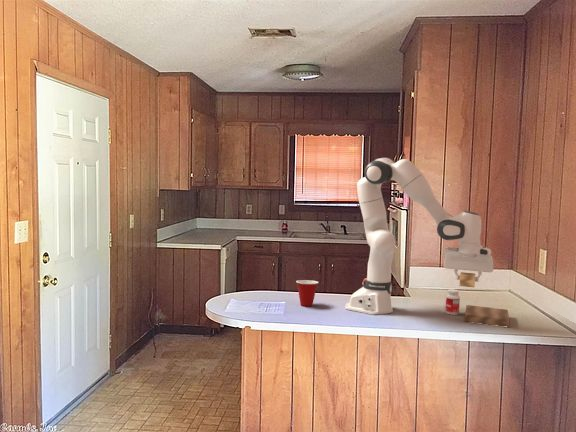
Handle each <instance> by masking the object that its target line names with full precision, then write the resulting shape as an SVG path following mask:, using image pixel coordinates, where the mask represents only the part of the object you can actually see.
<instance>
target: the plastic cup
mask: <svg viewBox="0 0 576 432" xmlns="http://www.w3.org/2000/svg"><path fill="white" fill-rule="evenodd" d="M295 282H296V284H297V290H298V297H299V303H300V304H299V305H300V306H301V307H307V308H308V307H313V304H314V299H315V296H316V291H317V287H318V284H319V281H316V280H312V279H311V280H308V279H306V280H305V279H302V280H301V279H300V280H298V279H297V280H296V281H295Z"/></svg>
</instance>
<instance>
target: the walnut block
mask: <svg viewBox="0 0 576 432" xmlns="http://www.w3.org/2000/svg"><path fill="white" fill-rule="evenodd" d="M468 322H474V323H473V324H475V323H482V324H481V325H483V324H488V325H487V326H491V325H498V326H507V327H509V328H510V315H509V311H508V309H505V308H497V307H487V306H478V305H470V304H466V307H465V312H464V323H468ZM498 326H497V327H498Z"/></svg>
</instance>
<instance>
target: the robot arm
mask: <svg viewBox="0 0 576 432" xmlns="http://www.w3.org/2000/svg"><path fill="white" fill-rule="evenodd" d="M389 181H395V183H397V185H398V186H399V187H400V188H401V190H402V191H403V192H404V194H405V195H407V197H409V199H410V200H412V201H413V202H416V203H418V204H420V205H421V206H423V208H425V210H426V211H427V212H428V213H429V214H430V216H431V217H432V218H433V220H434V222H435V223H436V225H437V226H436V232H437V235H438V236H439V237H440V238H441V239H442V240H445V241H454V240H458V247H446V248H444V250H443V256H444V261H443V267H444V268H445V269H447V270H454V274H455V276H456V280H457V281H460V274H459V273H458V272H459V271H460V270H461V271H469V272H477V273H478V275H477V276H475V283H476V282H477V283H479V278H480V277H481V276H482V275H483V273H493V272H494V259H493V256H492V255H491V254H492V250H491V249H490V248H489V247H486V246H484V245H481V244H482V243H481V234H482V218H481V215H480V214H478V213H476V212H473V211H468V210H463V211H461V212H459V213H458V214H455V215H453V216H452V215H451V214H450V213H448V211H446V209H445V208H444V207H443V205H442V204H441V203H440V201H438V199H437V198H436V196H435V194H434V192H433V190H432V188H431V187H432V186H431V185H430V183H429V182H428V180H427V178H426V176H425V175H424V174H423V172H421V170H420V169H419V168H418V167H417V166H416V165H415V164H413V162H412V161H410V159H408V158H402V159H399V160H398V161H395V160H394V159H392V158H390V157H386V156H385V157H380V158H376V159H374V160H372V161H371V162H369V163H368V164H367V165H366V167H365V168H364V177H361V178H359V180H358V181H357V184H356V189H357V190H356V191H357V197H358V198H357V199H358V203H359V208H360V210H361V211H360V212H361V215H362V219H363V226H364V232H365V237H366V242H367V245H368V246H369V248H370V251H369V255H368V256H369V257H368V262H367V272H366V273H367V275H366V278H363V280H362V284H361V285H362V287H360V288H359V289H358V290H356V291H355V292H353V293H352V294H351V296H350V299H349V302H347V303H345V305H344V309H345V310H348V311H353V312H358V313H363V314H367V315H368V314H369V315H382V314H384V315H385V314H389V313H392V312H394V309H393V305H392V299H391V297H392V296H391V293H392V290H393V289H392V287H393V285H392V280H391V279H392V263H393V259H394V254H395V247H396V243H397V241H396V238H395V236H394V234H393V233H392V232H391V231H390V230H389V225H388V219H387V218H388V217H387V209H386V206H385V202H384V197H383V194H382V185H383V184H385V183H387V182H389Z"/></svg>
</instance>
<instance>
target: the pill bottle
mask: <svg viewBox="0 0 576 432" xmlns="http://www.w3.org/2000/svg"><path fill="white" fill-rule="evenodd" d="M459 291H460V290H458V289H453V288H452V289H451V288H449V289H448V290H447V294H446V296H445V307H444V308H445V310H444V311H445V312H444V313H445V314H447V315H449V314H450V316H458V315H460V303H461V301H460V299H461V297H460V295H459V294H460V293H459Z"/></svg>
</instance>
